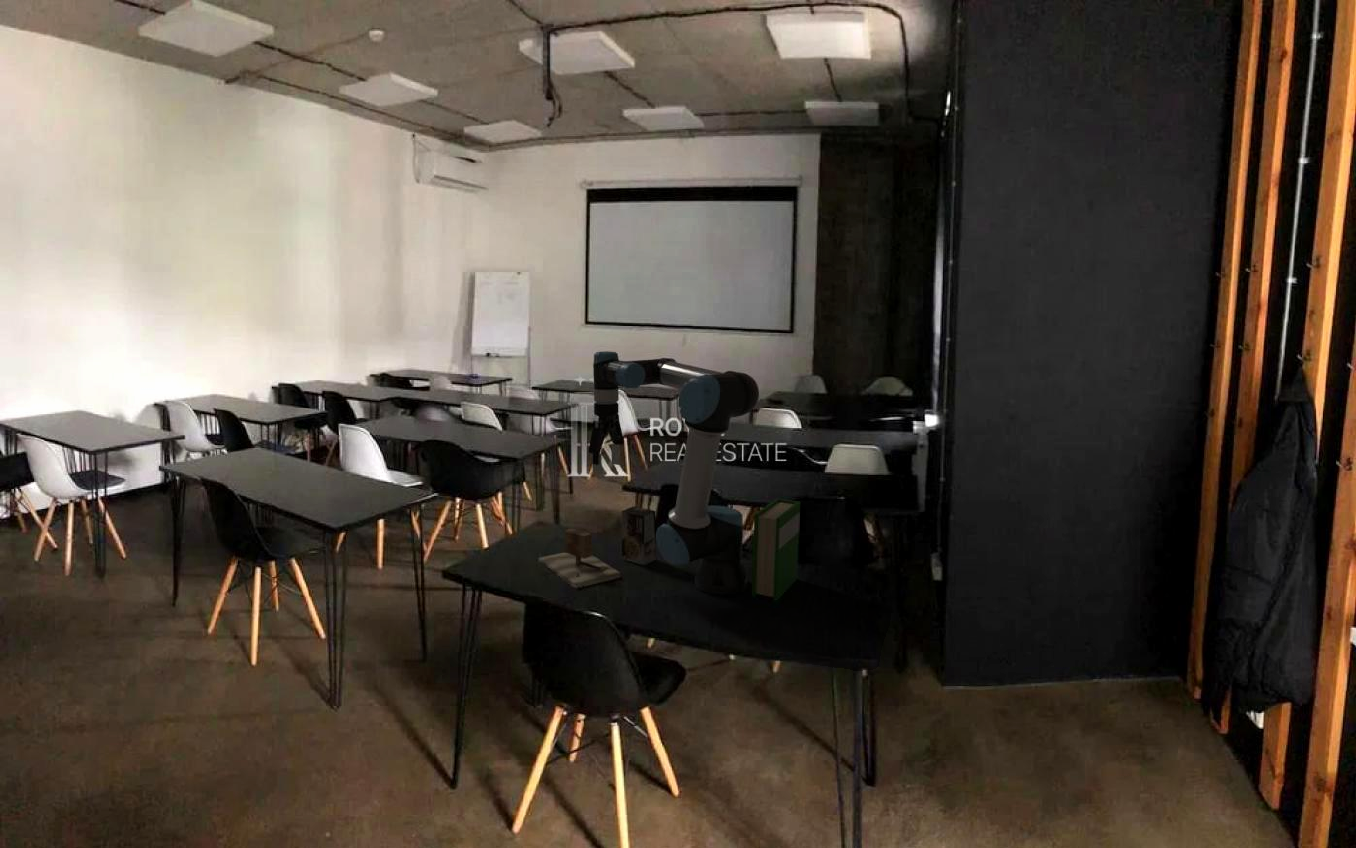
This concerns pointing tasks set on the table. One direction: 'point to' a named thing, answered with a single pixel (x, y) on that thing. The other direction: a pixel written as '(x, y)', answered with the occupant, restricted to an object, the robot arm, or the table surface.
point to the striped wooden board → (579, 569)
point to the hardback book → (775, 548)
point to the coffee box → (638, 535)
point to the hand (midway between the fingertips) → (606, 469)
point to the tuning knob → (579, 546)
